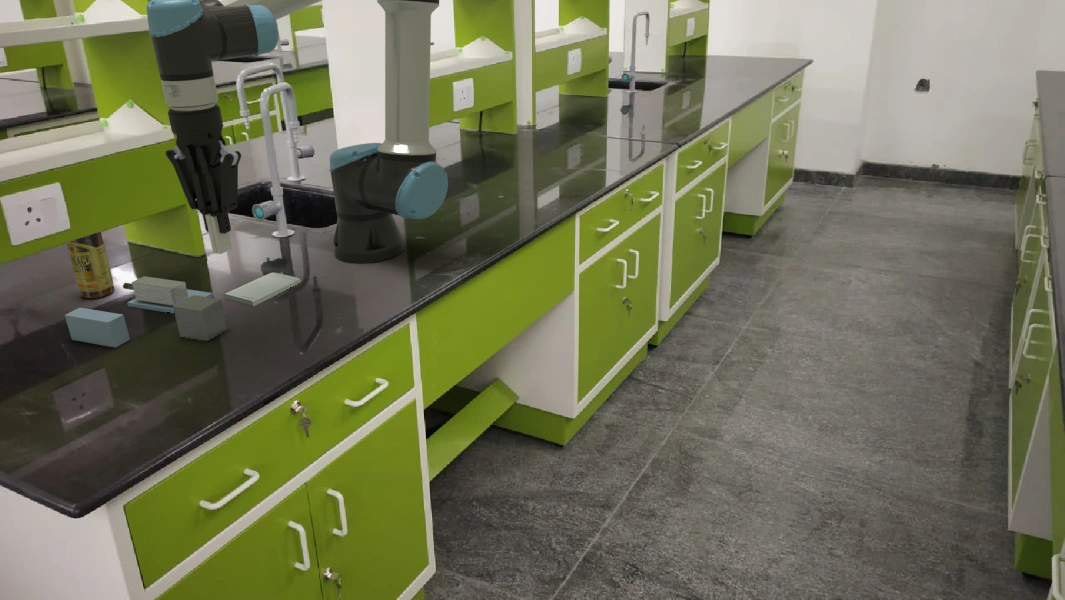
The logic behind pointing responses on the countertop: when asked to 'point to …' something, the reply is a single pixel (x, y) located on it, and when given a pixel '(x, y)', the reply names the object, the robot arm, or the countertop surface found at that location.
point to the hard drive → (262, 289)
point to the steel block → (200, 317)
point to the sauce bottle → (91, 266)
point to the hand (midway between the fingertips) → (222, 250)
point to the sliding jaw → (158, 290)
